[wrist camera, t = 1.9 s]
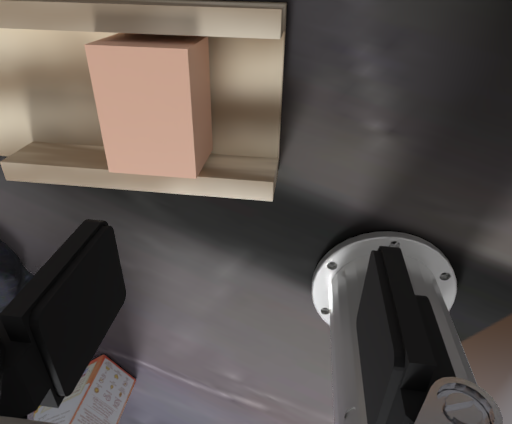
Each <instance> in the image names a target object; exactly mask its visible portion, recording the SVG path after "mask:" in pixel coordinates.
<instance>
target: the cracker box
mask: <svg viewBox="0 0 512 424" xmlns="http://www.w3.org/2000/svg"><path fill="white" fill-rule="evenodd" d="M135 381H136V379H135V378H134V377H132V376H131V375H130V374H128V373H127V372H126V371H125V370H123V369H122V368H121V367H120V366H118V365H117V364H116V363H115V362H113V361H112V360H111V359H110V358H108V357H107V356H106V355H101V356H99V357H98V358H96V359H94V360H92V361H90V363H89V364H88V366H87V368H86V370H85V371H84V373H83V375H82V377H81V378H80V380H79V382H78V384H77V386H76V387H75V389H74V391H73V392H72V394H71V395H70V396H68V397H67V396H65V397H64V399H63V401H62V403H61V404H60V406H59V408H53V407H46V406H39V407H38V409H37V410H36V411H34V420H35V421H43V422H50V423H57V424H118V422H119V420H120V418H121V415H122V413H123V410H124V408H125V406H126V403H127V401H128V398H129V396H130V394H131V391H132V389H133V387H134V384H135Z"/></svg>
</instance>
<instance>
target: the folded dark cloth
mask: <svg viewBox="0 0 512 424" xmlns="http://www.w3.org/2000/svg"><path fill="white" fill-rule="evenodd" d="M33 277H34V276H33V275H32V274H31V273H30V272H28V271H27V270H26V269H25V268H24V267H23V266H22V263H21V262H20V260H19V258H18V256H17V255H16V254H15V253H14V252H13V251H12V250H11V249H10V248H9V247H8V246H7V245H6V244H5V243H3V242H2V241H1V240H0V313H1V312H2V311H3V310H4V308H5V307H6V306H7V305H8V304H9V303H10V302H11V301H12V300H13V299H14V298H15V296H16V295H17V294H18V293H19V292H20V291H21V290H22V289H23V288H24V287H25V285H26V284H27V283H28V282H29V281H30V280H31V279H32V278H33Z"/></svg>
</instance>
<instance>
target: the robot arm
mask: <svg viewBox="0 0 512 424" xmlns="http://www.w3.org/2000/svg"><path fill="white" fill-rule="evenodd" d="M311 292H312V300H313V303H314V306H315V308H316V311H317V312H318V314H319V315H320V317H321V318H322V319H323V320H324V321H325V322H326V323H327V324H328V325H329V326H330V339H331V363H332V387H333V411H334V424H502V423H503V418H502V415H501V412H500V409H499V407H498V405H497V404H496V403H495V401H494V399H493V398H492V397H491V396H490V395H489V394H488V393H487V392H486V391H485V390H484V389H482V388H480V387H479V386H477V383H476V380H475V378H474V375H473V373H472V370H471V368H470V365H469V363H468V360H467V358H466V355H465V352H464V350H463V347H462V345H461V342H460V339H459V337H458V334H457V332H456V329H455V327H454V324H453V321H452V319H451V316H450V314H449V311H450V309H451V307H452V305H453V303H454V301H455V297H456V293H457V280H456V277H455V274H454V271H453V269H452V266H451V264H450V262H449V260H448V259H447V258H446V256H445V255H444V254H443V253H442V252H441V250H439V249H438V248H437V247H435V246H434V245H433V244H432V243H430V242H428V241H426V240H424V239H422V238H420V237H417V236H414V235H410V234H407V233H401V232H393V231H383V232H372V233H366V234H361V235H358V236H355V237H353V238H350V239H347V240H345V241H344V242H342V243H340V244H338V245H336V246H335V247H334V248H333V249H331V250H330V251H329V252H328V253H326V255H325V256H324V257H323V258H322V259H321V261H320V262H319V263H318V265H317V267H316V269H315V271H314V274H313V278H312V290H311ZM125 297H126V289H125V284H124V279H123V274H122V269H121V264H120V259H119V255H118V250H117V245H116V240H115V235H114V230H113V228H112V227H111V226H108V223H107V222H106V221H100V220H89V219H88V220H85V221H84V222H83V223H82V224H81V225H80V226H79V227H78V228H77V229H76V231H75V232H74V233H73V234H72V235H71V236H70V237H69V238H68V239H67V240H66V242H65V243H64V244H63V245H62V246H61V247H60V248H59V249H58V250H57V251H56V252H55V254H54V255H53V256H52V257H51V258H50V259H49V260H48V261H47V262H46V263H45V265H44V266H43V267H42V268H41V269H40V270H39V271H38V272H37V273H36V274H35V276H34V277H33V278H32V279H31V280H30V281H29V282H28V283H27V284H26V285H25V287H24V288H23V289H22V290H21V291H20V292H19V293H18V294H17V295H16V296H15V298H14V299H13V300H12V301H11V302H10V303H9V304H8V305H7V306H6V307H5V308H4V310H3V311H2V312H1V313H0V424H57V423H50V422H43V421H35V420H34V411H36V410H37V409H38V407H39V406H46V407H53V408H59V406H60V404H61V403H62V401H63V399H64V397H65V396H67V397H68V396H70V395H71V394H72V392H73V391H74V389H75V387H76V386H77V384H78V382H79V380H80V378H81V377H82V375H83V373H84V371H85V370H86V368H87V366H88V364H89V363H90V361H91V359H92V357H93V356H94V354H95V352H96V350H97V349H98V347H99V345H100V343H101V342H102V340H103V338H104V336H105V335H106V333H107V331H108V329H109V328H110V326H111V324H112V322H113V321H114V319H115V317H116V315H117V314H118V312H119V310H120V308H121V307H122V305H123V303H124V301H125Z"/></svg>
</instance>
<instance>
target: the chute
mask: <svg viewBox="0 0 512 424" xmlns="http://www.w3.org/2000/svg"><path fill="white" fill-rule="evenodd" d="M286 14H287V2H254V1H221V0H0V156H8V157H7V158H5V159H4V160H2V161H0V164H1V167H2V169H3V172H4V175H5V178H6V180H10V181H22V182H35V183H48V184H60V185H73V186H85V187H98V188H111V189H123V190H136V191H148V192H161V193H174V194H186V195H199V196H211V197H224V198H237V199H249V200H262V201H273V197H274V191H275V186H276V180H277V175H278V165H279V146H280V128H281V109H282V90H283V71H284V52H285V33H286ZM118 33H134V34H160V35H185V36H208V44H209V68H210V93H211V117H212V141H213V150H212V152H211V154H210V155H209V157H208V159H207V161H206V162H205V164H204V166H203V168H202V170H201V171H200V173H199V175H198V177H197V178H196V179H192V178H178V177H165V176H152V175H139V174H125V173H112V172H109V170H108V165H107V159H106V154H105V149H104V144H103V139H102V134H101V129H100V123H99V118H98V113H97V108H96V103H95V98H94V93H93V87H92V82H91V77H90V72H89V67H88V62H87V57H86V51H85V46H84V45H85V44H88V43H91V42H94V41H97V40H100V39H103V38H106V37H109V36H112V35H115V34H118Z"/></svg>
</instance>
